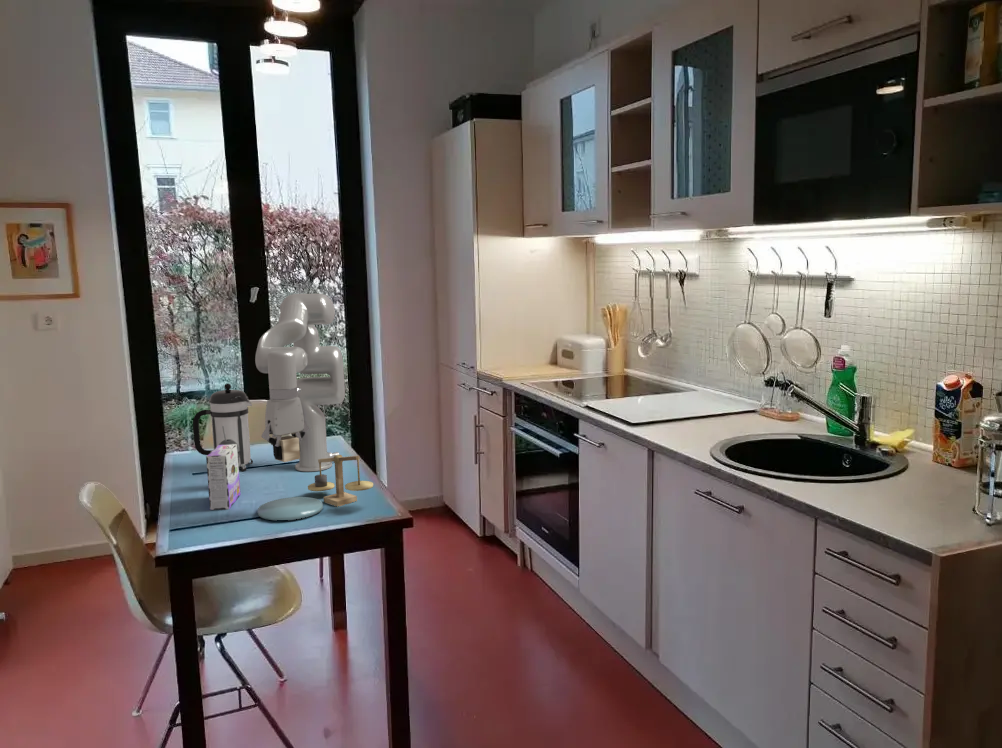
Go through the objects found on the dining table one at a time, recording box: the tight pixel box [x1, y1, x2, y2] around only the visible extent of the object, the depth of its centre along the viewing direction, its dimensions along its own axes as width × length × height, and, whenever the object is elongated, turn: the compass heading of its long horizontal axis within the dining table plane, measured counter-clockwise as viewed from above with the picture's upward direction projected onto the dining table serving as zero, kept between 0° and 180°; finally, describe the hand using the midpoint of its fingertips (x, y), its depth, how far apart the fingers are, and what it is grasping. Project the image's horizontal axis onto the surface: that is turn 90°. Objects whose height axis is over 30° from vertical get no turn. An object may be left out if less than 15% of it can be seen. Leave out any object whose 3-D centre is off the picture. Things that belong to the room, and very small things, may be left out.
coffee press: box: [192, 383, 254, 472], centre depth 270 cm, size 17×16×30 cm
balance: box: [307, 454, 374, 508], centre depth 231 cm, size 8×28×16 cm, turn 47°
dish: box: [257, 496, 324, 521], centre depth 223 cm, size 18×18×2 cm
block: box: [274, 435, 300, 463], centre depth 221 cm, size 5×5×6 cm
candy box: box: [205, 444, 242, 511], centre depth 232 cm, size 14×6×16 cm, turn 5°
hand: (287, 456), depth 221 cm, fingers closed on block, 5 cm apart
